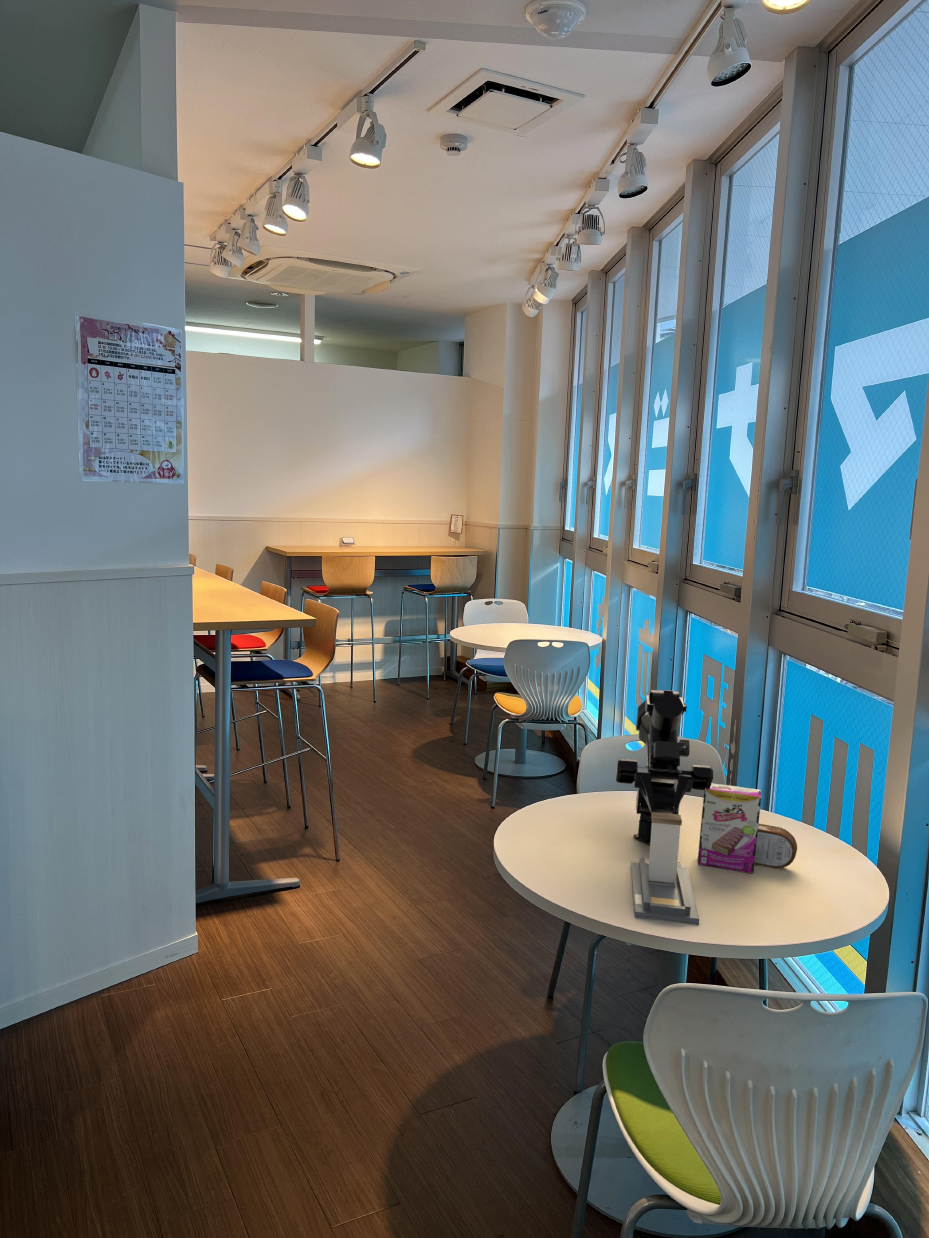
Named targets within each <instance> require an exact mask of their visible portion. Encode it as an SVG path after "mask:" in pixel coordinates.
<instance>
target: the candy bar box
mask: <svg viewBox="0 0 929 1238" xmlns="http://www.w3.org/2000/svg"><path fill="white" fill-rule="evenodd" d="M702 801H703V802H702V809H701V819H700V829H699V832H700V833H699V839H698V853H697V855H698V856H697V865H698V866H705V867H711V868H716V869H721V870H729V871H735V872H741V873H746V874H754V872H755V865H756V864H755V855H756V845H757V835H758V825H759V824H760V823H759V822H760V814H761V806H762V805H761V803H762V790H761V789H756V788H749V787H742V786H738V785H737V786H736V785H729V784H724V783H715V782H712V784H711V787H710V789H709V788H707V787H705V790H703V799H702Z"/></svg>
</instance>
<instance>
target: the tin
mask: <svg viewBox="0 0 929 1238" xmlns="http://www.w3.org/2000/svg"><path fill="white" fill-rule="evenodd" d="M797 853H798V843H797V840H796V838H795V837H794V835H793V834H792V833H791V832H790V831H788V830H787V829H785V828H782V827H780V826H774V825H771V824H770V825H769V824H764V823H759V825H758V835H757V845H756V855H755V864H754V865H756V866H761V867H767V868H771V869H777V870H778V869H784V868H786V867H788V866H790V865H791V864H792V863H793V862H794V861H795V859H796V856H797Z"/></svg>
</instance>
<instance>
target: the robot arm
mask: <svg viewBox="0 0 929 1238" xmlns="http://www.w3.org/2000/svg"><path fill="white" fill-rule="evenodd" d="M687 708H688V706H687V705H686V703H685V702H684V699H683V696H682V697H681V695H680V692H679V691H674V690H668V689H667V690H666V689H664V690H656V689H655V690H654V689H650V690H649V691H648V692H646V694H645V699H644V701H643V702H642V703H640V705H638V707H637V712H636V721H635V731H638V739H639V740H640V741H641V742H642V743H644V744H645V756H646V757H645V758H646V765H642V764H641V765H640V764H638V760H637V759H633V758H631V759H630V758H629V759H628V758H619V760H617V763H616V771H615V772H616V773H615V775H616V776H615V782H616V783H619V784H630V785H632V784H633V786H634V787H635V788H637V790H636V791H637V792H636V796H635V797H636V798H635V811H636V812H635V813H636V814H637V815H640V816H639V820H638V830H637V831H638V832H637V833H634V834H633V836H632V837H633V838H634V839H637V840H639V841H641V842H644V843H645V844H648V845H650V842H651V829H652V819H651V812H655V813H665V814H676V815H680V812H679V811H680V804H681V802H682V800H683V798H684V797H685V794H686V793H690V792H692V789H693V790H694V791H695V790H697V791H704V790H705V787H707V788H709V789H710V787H711V784H712V783H713V779H714V769H713V768H712V767H711V766H710V765H701V764H700V765H699V764H692V765H691V769H690V770H683V769H679V767H680V766H681V758H688V757H690V739H679V736H678V734H679V733H678V732H679V731H678V728H679V727H680V724H681V720H682V716H683V715H684V713H686V712H687ZM678 739H679V741H678ZM675 780H676V781H677V783H676V785H675Z"/></svg>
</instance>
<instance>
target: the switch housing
mask: <svg viewBox="0 0 929 1238" xmlns="http://www.w3.org/2000/svg"><path fill="white" fill-rule="evenodd" d="M645 860H646V858H645V857H638V862H636V861H635V862H634V861H631V862H630V874H631V876H630V877H631V885H632V886H631V887H632V898H633V913H634V918H640V919H649V920H656V921H657V920H658V921H666V922H675V923H682V924H683V923H685V924H693V925H694V924H695V925H700V916H699V915H700V914H699V911H698V907H697V904H696V899H695V896H694V894H695V893H694V891H693V886H692V882H691V879H690V875H689V869H688V867H686V866H682V863H681V861H679V860H678V861H677V874H676V883H668V882H659V881H649V878H648V870H649V863H646V861H645Z"/></svg>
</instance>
